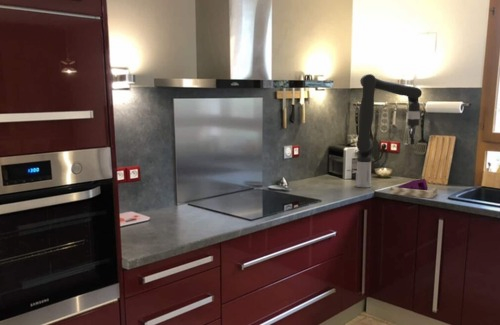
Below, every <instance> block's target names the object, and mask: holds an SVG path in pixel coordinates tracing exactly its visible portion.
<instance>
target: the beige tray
mask: <svg viewBox="0 0 500 325" xmlns="http://www.w3.org/2000/svg"><path fill="white" fill-rule="evenodd" d="M437 189H438V187H432V188H431V189H430V190H416V189H406V188H398V187H395V186H394V187H393V186H391V187H390V195H397V196H398V195H399V196H405V197H406V196H407V197H418V198H424V199H425V198H428V199H433V198H434V197H435V196H437V194H438V190H437Z"/></svg>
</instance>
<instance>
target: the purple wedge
mask: <svg viewBox="0 0 500 325" xmlns="http://www.w3.org/2000/svg"><path fill="white" fill-rule="evenodd" d="M397 188H406V189H416V190H427V191H429V190H428V189H429V188H428V184H427V180H426V179H425V178H421V179H414V180H411V181H409V182H406V183H403V184H401V185H399V186H397Z"/></svg>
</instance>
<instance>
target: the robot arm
mask: <svg viewBox="0 0 500 325" xmlns="http://www.w3.org/2000/svg"><path fill="white" fill-rule="evenodd" d="M360 85H361V86H362V98H361V101H360V104H359V105H360V106H359V110H358V111H359V113H358V115H359V116H358V135H357V141H356V148H357V149H358V154H357V161H356V162H357V163H356V172H355V187H358V188H370V187H371V185H372V184H371V180H372V178H371V177H372V158H373V147H374V146H373V143H374V142H373V141H372V139H371V137H370V136H371V135H370V134H371V128H372V125H373V121H374V113H375V111H374V110H375V91H376V90H379V91H383V92H384V91H385V92H388V93H391V94H395V95H399V96H405V97H407V102H408V109H407V110H408V113H407V122H406V124H407V126H410V128H409V131H408V132H409V133H408V134H409V138H410V145H415V139H416V136H417V131H418V130H417V129H418V128H417V126H420V119H421V117H420V115H421V114H420V112H421V111H420V108H421V104H420V103H419V98H421V96H422V90H421V88H418V87H414V86H410V85H409V86H408V85H405V84H403V83H398V82H394V81H387V80H383V79H379V78H377V77H376V76H375V75H374V74H372V73H367V74H364V75H363V76H362V77H361V78H360Z"/></svg>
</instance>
